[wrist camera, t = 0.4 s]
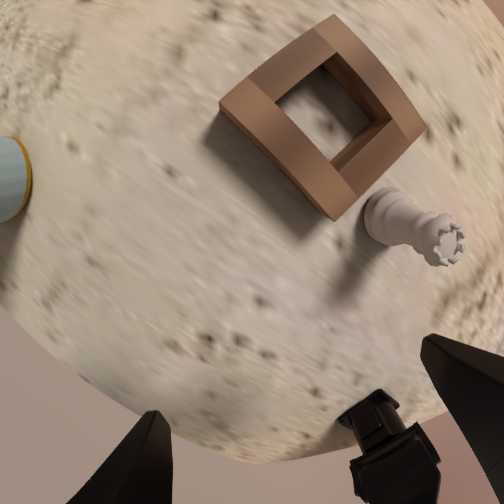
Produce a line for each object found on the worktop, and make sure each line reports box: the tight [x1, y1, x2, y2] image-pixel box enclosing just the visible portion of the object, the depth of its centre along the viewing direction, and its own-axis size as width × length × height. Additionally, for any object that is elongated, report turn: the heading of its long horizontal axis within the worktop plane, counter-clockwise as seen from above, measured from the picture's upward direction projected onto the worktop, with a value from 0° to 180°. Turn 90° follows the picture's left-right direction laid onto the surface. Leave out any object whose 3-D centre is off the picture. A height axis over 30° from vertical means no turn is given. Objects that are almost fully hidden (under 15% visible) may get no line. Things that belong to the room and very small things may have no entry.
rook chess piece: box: [364, 187, 465, 267], centre depth 17 cm, size 4×4×8 cm
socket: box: [219, 14, 427, 222], centre depth 16 cm, size 10×10×3 cm
